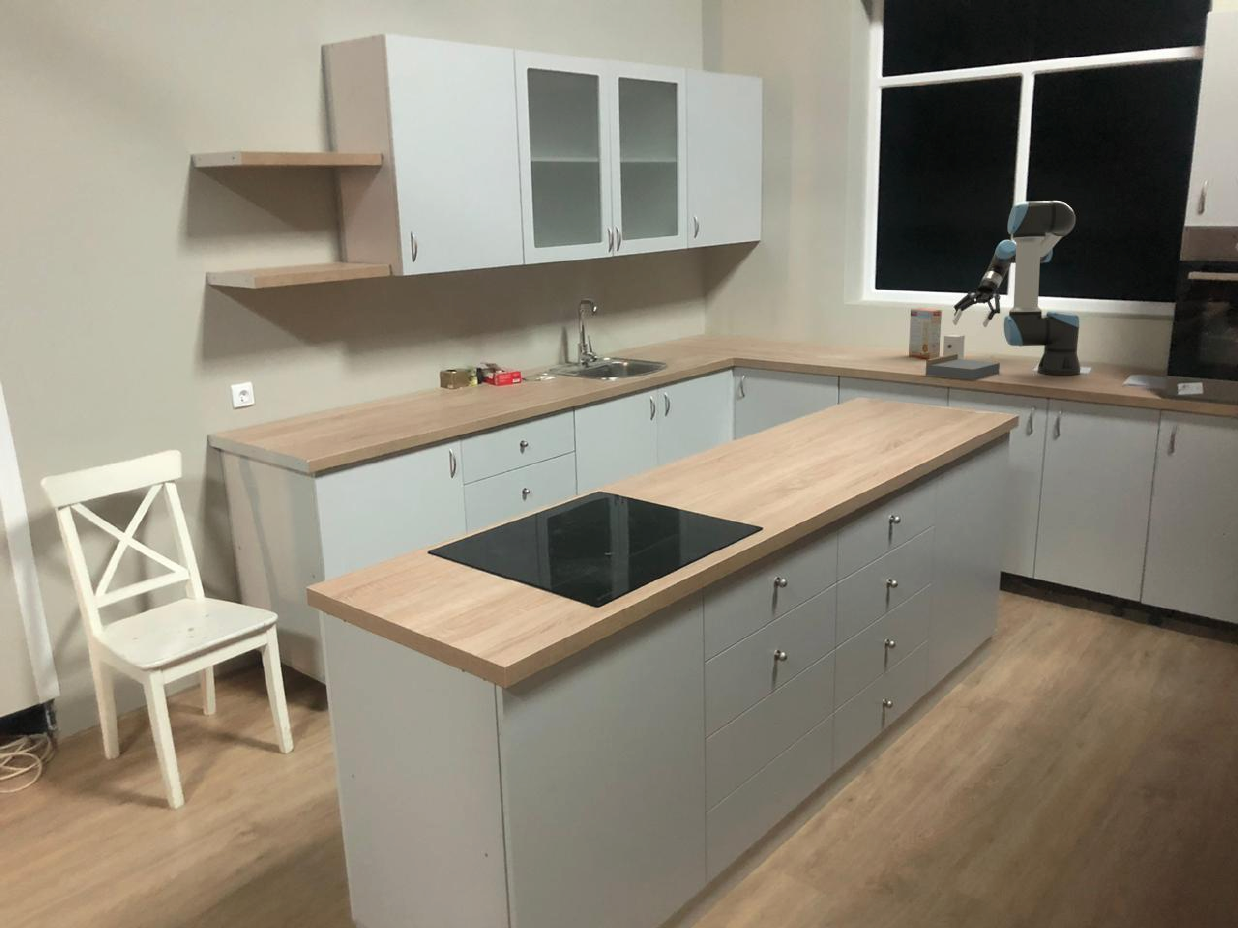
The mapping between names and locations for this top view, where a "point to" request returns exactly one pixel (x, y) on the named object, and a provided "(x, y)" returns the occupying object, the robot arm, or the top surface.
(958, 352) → the cabinet block
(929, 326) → the cracker box
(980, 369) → the riser
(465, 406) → the top surface
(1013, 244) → the robot arm
